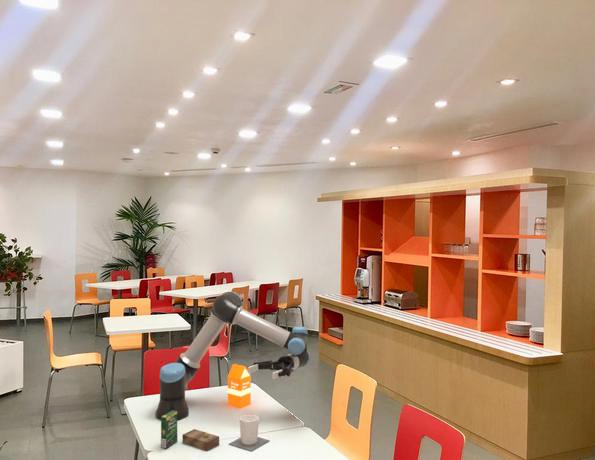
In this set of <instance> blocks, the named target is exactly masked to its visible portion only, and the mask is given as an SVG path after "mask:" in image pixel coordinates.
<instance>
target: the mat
mask: <svg viewBox="0 0 595 460" xmlns="http://www.w3.org/2000/svg"><path fill="white" fill-rule="evenodd" d="M269 442H270V439H266V438H262V437H259V436H258V439H257V443H255V444H253V445H244V444H242V443H241V436H240V437H238V438H236V439H235V440H233V441H231V442H230V443H228V445H229V446H232V447H235V448H238V449H242V450H244V451H248V452H251V453H252V452H254V451H255V450H258V449H259V448H261V447H262V446H264V445H266V444H267V443H269Z"/></svg>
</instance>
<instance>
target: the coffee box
mask: <svg viewBox="0 0 595 460" xmlns="http://www.w3.org/2000/svg"><path fill="white" fill-rule="evenodd" d="M177 442H178V420H177V411H174V410H172V411H170V412H169V413H167V414H165V415H164V416H162V417H161V420H160V447H161V449H163V448H164V450H167V449H169V448H170V447H171V446H173V445H174V444H176V443H177Z"/></svg>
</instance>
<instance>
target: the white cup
mask: <svg viewBox="0 0 595 460" xmlns="http://www.w3.org/2000/svg"><path fill="white" fill-rule="evenodd" d="M259 419H260V418H259V416H258V415H256V414H244V415H241V416H240V417H239V431H240V437H241V443H242V444H244V445H253V444H255V443H257V439H258V437H259V436H258V435H259V424H260V423H259Z"/></svg>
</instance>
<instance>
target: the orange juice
mask: <svg viewBox="0 0 595 460" xmlns="http://www.w3.org/2000/svg"><path fill="white" fill-rule="evenodd" d="M251 380H252V377H251V373H248V368H247V367H246V366H245V365H241V364H240V365H239V364H236V363H232V366H231V368H230V370H229V373H228V375H227V405H228V406H231V407H234V408H238V409H243V408H245V407H248V406H250V405H252V404H251V403H252V401H251V396H252V394H251V393H252V389H251V388H252V387H251V386H252V385H251V383H252V382H251Z"/></svg>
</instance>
